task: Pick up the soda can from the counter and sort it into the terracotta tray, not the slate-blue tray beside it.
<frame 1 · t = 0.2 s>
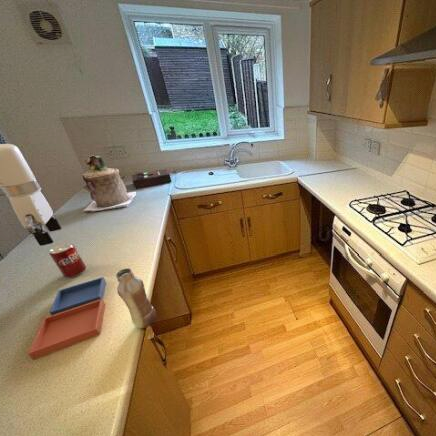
hand: (51, 236, 79), 22 cm above the worktop, tool pointing down, fingers open, 9 cm apart
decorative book: (153, 183, 191), on the worktop
blue tray: (82, 298, 84), on the worktop
terracotta tray: (73, 328, 73), on the worktop
soda can: (75, 272, 97), on the worktop
cookie jar: (113, 203, 158), on the worktop
plastic bottle: (147, 322, 75), on the worktop
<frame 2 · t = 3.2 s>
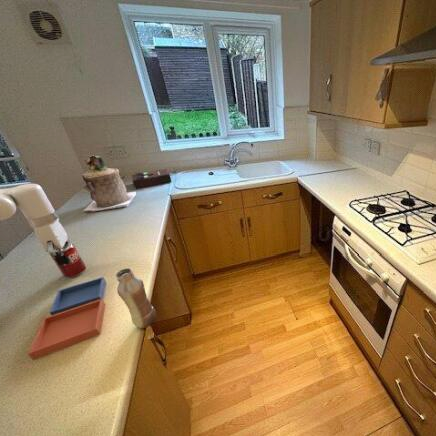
hand: (67, 258, 93), 7 cm above the worktop, tool pointing down, fingers closed on soda can, 7 cm apart
soda can: (76, 272, 97), on the worktop, touching gripper
everything else where it was.
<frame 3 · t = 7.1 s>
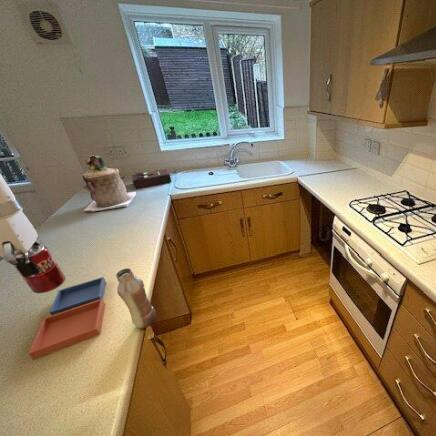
hand: (37, 265, 66), 22 cm above the worktop, tool pointing down, fingers closed on soda can, 7 cm apart
soda can: (50, 285, 70), point 14 cm above the worktop, touching gripper
everything else where it was.
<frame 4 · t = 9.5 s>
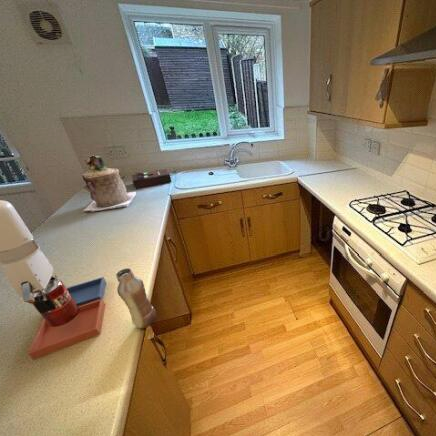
hand: (52, 300, 67), 12 cm above the worktop, tool pointing down, fingers closed on soda can, 7 cm apart
soda can: (65, 318, 71), point 5 cm above the worktop, touching gripper
everything else where it was.
when the fingers open (8 cm above the worktop, at t = 11.2 s): soda can stays where it is, resting on terracotta tray.
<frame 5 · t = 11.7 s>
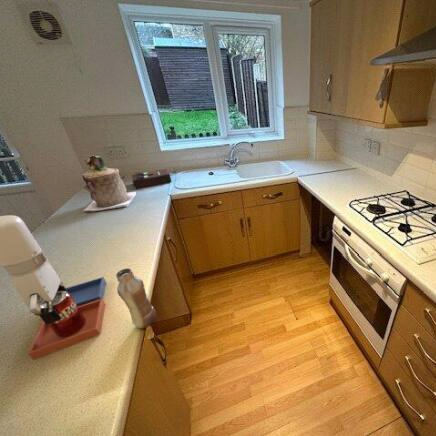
hand: (58, 308, 69), 9 cm above the worktop, tool pointing down, fingers open, 9 cm apart
soda can: (72, 327, 73), resting on terracotta tray
everything else where it was.
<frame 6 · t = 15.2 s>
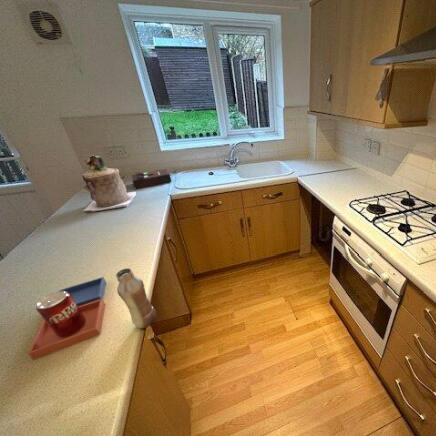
nothing on the worktop moved.
at the end: soda can inside the target area in the terracotta tray (0.0 cm from its centre), point 0.4 cm above the terracotta tray's base; soda can tilted 0°; the gripper is holding nothing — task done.
